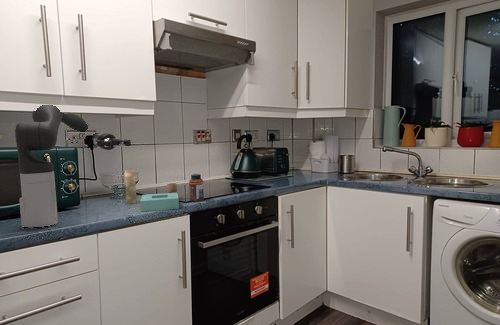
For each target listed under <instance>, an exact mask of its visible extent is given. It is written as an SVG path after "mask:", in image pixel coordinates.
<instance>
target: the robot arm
mask: <svg viewBox="0 0 500 325" xmlns="http://www.w3.org/2000/svg"><path fill="white" fill-rule="evenodd" d="M31 117H32V121H22V122H21V121H20V122H18V123H17V124H16V125H15V128H14V136H15V143H16V150H17V157H18V159H17V160H18V167H19V175H20V176H19V177H20V179H19V180H20V186H21V187H20V190H21V197H19V211H20V221H21V222H20V223H21V228H22V227H42V228H45V227H44V226H48V227H51V226H50V225H52V226H54V224H55V225H57V224H58V222H59V221H58V219H59V216H58V205H57V194H56V193H57V191H56V181H55V180H56V179H55V168H54V167H55V166H54V164H53V163H52V162H51V161H47V160H43V159H41V158H38V157H36V156H34V155H33V153H32V152H42V151H43V152H45V151H50V150H53V149H54V148H55V147H56V145H57V141H58V135H59V133H58V132H59V128H60V124H61V123H63V124H64V125H66V126H67V127H68V126H69V127H68V128H69V129H71V128H72V129H74V130H77V131H80V132H85V131H86V130H87V129H88V125H89V124H88V123H87V122H86V120H85V119H84V118H83V117H81V116H79V115H77V114H75V113H71V114H64V113H62V112H60V110H59V109H58V108H57V107H56V106H53V105H42V106H40V107H39V108H37V110H36V111H34V110H33V112H32V116H31ZM86 123H87V124H88V125H87V124H86ZM72 129H71V130H72ZM92 136H93V138H92V140H93V144H94V146H95V147H98V148H99V149H101V150H107V151H111V150H113V149H115V148H116V147H119V148H121V147H131V146H132V142H131V141H132V140H130V139H125V138H124V139H123V138H117V137H116V136H115V135H114V134H112V133H107V132H101V133H95V134H93V135H92Z"/></svg>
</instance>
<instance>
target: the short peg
mask: <svg viewBox="0 0 500 325" xmlns="http://www.w3.org/2000/svg"><path fill="white" fill-rule="evenodd" d="M166 185H167V186H166V188H167V193H178V186H177V182H176V183H175V182H174V183H167V184H166Z"/></svg>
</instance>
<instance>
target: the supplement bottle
mask: <svg viewBox="0 0 500 325" xmlns="http://www.w3.org/2000/svg"><path fill="white" fill-rule="evenodd" d="M190 177H191V179H189V181H188V184H189V185H188V188H189V189H188V190H189V201H190V202H193V201H195V202H203V201H204V199H205V198H204V196H205V194H204V180H203V179H202V178H201V173H191V176H190ZM195 202H194V203H195Z"/></svg>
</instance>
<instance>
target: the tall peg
mask: <svg viewBox="0 0 500 325" xmlns="http://www.w3.org/2000/svg"><path fill="white" fill-rule="evenodd" d="M135 170H136V169H125V170H124V180H125V199H126V200H125V202H126V204H127V205H134V204H137V187H136V185H137V184H136V171H135Z"/></svg>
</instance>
